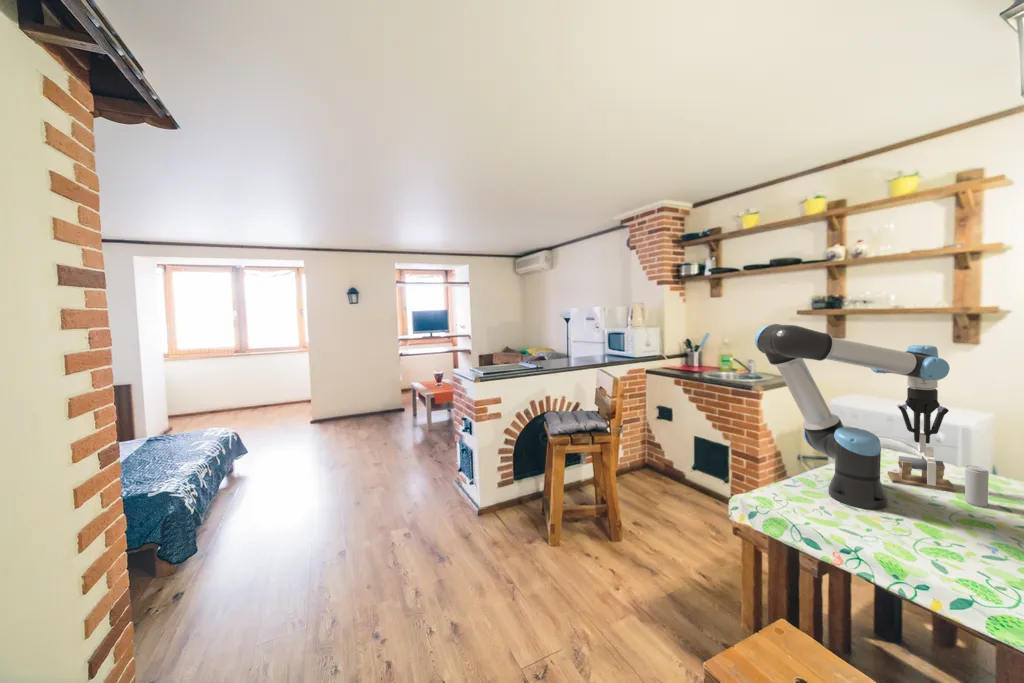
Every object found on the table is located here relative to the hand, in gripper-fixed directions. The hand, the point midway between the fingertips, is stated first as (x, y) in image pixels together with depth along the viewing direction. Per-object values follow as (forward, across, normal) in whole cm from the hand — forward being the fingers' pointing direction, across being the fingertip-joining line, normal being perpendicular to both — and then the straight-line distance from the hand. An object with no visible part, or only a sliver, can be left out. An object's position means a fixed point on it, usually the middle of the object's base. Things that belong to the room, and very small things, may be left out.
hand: (921, 451), depth 141 cm
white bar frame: (+11, +2, 0) cm, 11 cm away
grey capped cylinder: (+7, 0, 0) cm, 7 cm away
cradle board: (+12, 0, 0) cm, 12 cm away
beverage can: (+12, +10, -13) cm, 20 cm away
